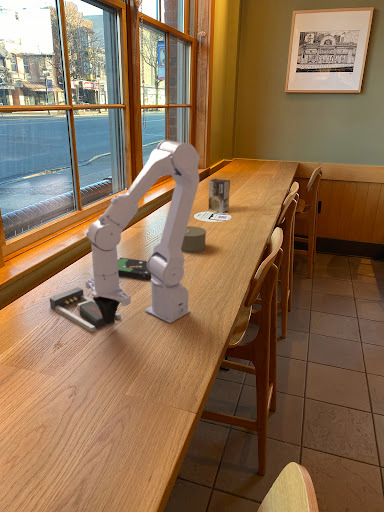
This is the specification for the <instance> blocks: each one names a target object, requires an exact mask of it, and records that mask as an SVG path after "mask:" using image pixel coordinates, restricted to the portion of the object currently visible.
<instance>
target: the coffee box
mask: <svg viewBox="0 0 384 512" xmlns="http://www.w3.org/2000/svg"><path fill="white" fill-rule="evenodd" d="M230 186H231V180H229V179H220V178H213V179H209V180H208V210H213V211H218V212H225V211H228V210H229V209H230V207H229V206H230ZM218 212H217V213H218ZM228 212H229V211H228ZM225 213H226V212H225Z"/></svg>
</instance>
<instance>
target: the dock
mask: <svg viewBox="0 0 384 512" xmlns="http://www.w3.org/2000/svg"><path fill="white" fill-rule="evenodd" d="M48 298H49V306H50V309H53V310H54V311H55V312H56V313H59V314H61V315H63V316H64V317H65V318H67V319H69V320H70V321H72V322H74V323H76V324H77V325H78V326H80V327H82V328H84V329H85V330H87V331H88V332H91V333H93V332H95V331H96V328H95V326H93V325H91V324H90V323H89V322H88V321H86V320H85V319H84V318H81V317H79V316H77V315H76V314H74V313H73V312H71V311H69V310H68V309H66V307H68V306H70V305H73V304H75V303H77V302H79V301H82V302H85V301H93V302H95V301H94V300H93V298H90V297H89V296H86V295H85V294H84V289H83V288H81V287H79V286H77V287H74V288H71V289H69V290H66V291H64V292H61V293H58V294H55V295H53V296H51V297H48ZM121 316H122V315H121V313H119V312H117V311H116V314H115V319H116V320H120V319H121V318H122V317H121Z"/></svg>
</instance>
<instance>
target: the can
mask: <svg viewBox="0 0 384 512" xmlns="http://www.w3.org/2000/svg"><path fill="white" fill-rule="evenodd" d="M206 235H207V231H206V229H205V228H202V227H199V226H187V228H186V232H185V235H184V239H183V243H182V246H181V251H182V253H183V254H184V253H185V254H186V253H187V254H197V253H201V252H203V251H205V250H206V238H207V237H206Z"/></svg>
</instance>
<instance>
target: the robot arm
mask: <svg viewBox="0 0 384 512" xmlns="http://www.w3.org/2000/svg"><path fill="white" fill-rule="evenodd" d="M200 159H201V156H200V155H199V153H198V151H197V149H196V148H195V146H194V145H193V144H191V143H188V142H180V141H173V140H171V139H164V140H162V141H160V142H159V143H158V144H157V146H156V148H154V149H153V150H152V151H151V153H150V156H149V158H148V160H147V162H146V163H145V165H144V166H143V168H142V169H141V171H140V172H139V174H138V175H137V176H136V178H135V179H134V181H133V182H132V184H131V185H130V186H129V188H128V189H127V191H126V192H124V193H120V194H117V196H116V197H115V196H113V197H112V198H111V199H110V202H111V203H110V204H109V206H108V207H107V208H106V209H105V211H104V212H103V214H100V215H98V217H97V220H96V221H93V222H92V223H90V225H89V226H88V229H87V232H86V234H85V235H86V238H87V239H88V241H90V242H91V257H92V258H91V261H92V272H93V278H90V279H86V280H85V288H86V289H88V290H89V289H91V291H92V292H91V296H92V300H94V301H95V303H96V304H97V306H98V307H99V309H100V312H101V314H102V317H103V320H104V322H105V323H107V324H108V325H110V324H109V323H111V322H113V321H114V319H115V314H116V312H117V310H118V307H119V305H120V304H121V306H123V307H126V306H129V305H130V304H131V303H132V301H131V295H128V294H127V293H126V292H125V290H123V288H122V287H121V285H120V276H118V247H117V246H118V245H119V244H120V243H121V241H122V239H121V238H122V234H123V231H124V230H125V229H126V227H127V226H128V224H129V223H130V221H131V220H133V218H134V216H136V214H137V213H138V211H139V202H140V201H141V200H142V198H143V197H144V196H145V195H146V193H147V192H148V191H149V190H150V189H151V188H152V186H154V185H155V183H156V182H157V181H158V180H159V179H160V178H161V177H165V176H170V175H171V177H172V179H173V180H174V182H175V185H174V189H173V192H172V193H173V194H172V197H171V201H170V204H169V208H168V212H167V216H166V220H165V223H164V228H163V232H162V234H161V235H162V236H161V239H160V242H159V243H157V245H155V246H154V247H153V251H152V253H151V254H150V255H149V257H148V258H147V260H146V261H147V269H148V270H149V272H150V273H151V277H152V278H151V279H150V280H151V282H150V285H151V306H149V307H147V308H145V309H144V311H145V312H146V313H149V314H150V315H152V316H154V317H157V318H159V319H161V320H163V321H165V322H167V323H169V324H171V323H173V322H175V321H177V320H178V319H180V318H182V317H184V316H185V315H187V314H189V313H190V312H191V310H190V309H189V291H188V289H187V288H186V286H184V285H182V284H181V281H182V280H183V278H184V275H185V267H184V263H185V260H186V259H185V256H184V252H182V251H181V246H182V243H183V239H184V235H185V232H186V228H187V227H188V224H189V222H190V221H189V220H190V217H191V214H192V209H193V205H194V201H195V198H196V194H197V191H198V188H199V183H200V173H199V172H200V171H199V162H200ZM113 323H114V322H113ZM111 324H112V323H111Z"/></svg>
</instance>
